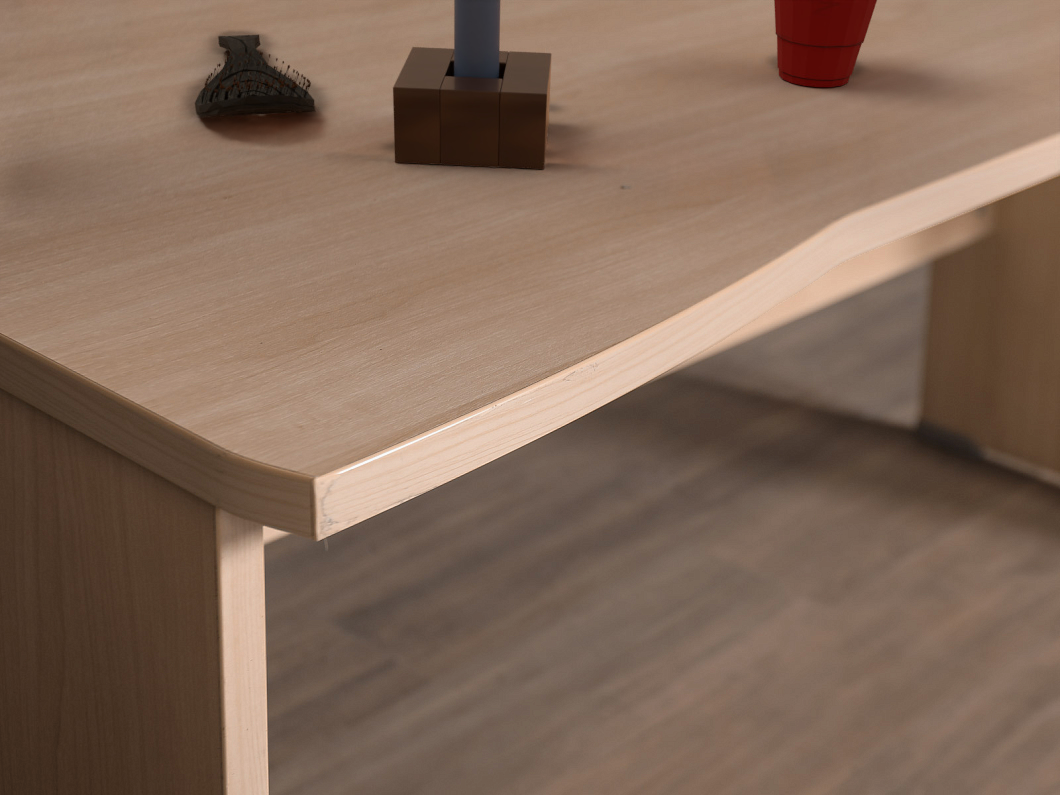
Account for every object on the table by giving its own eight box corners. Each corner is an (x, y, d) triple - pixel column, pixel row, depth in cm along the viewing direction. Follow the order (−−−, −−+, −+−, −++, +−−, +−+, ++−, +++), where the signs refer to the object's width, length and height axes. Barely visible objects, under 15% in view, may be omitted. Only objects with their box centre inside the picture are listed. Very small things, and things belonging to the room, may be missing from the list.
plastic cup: (722, 63, 104) (739, -88, 98) (835, 56, 107) (858, -90, 101) (784, 102, 95) (806, -62, 89) (905, 93, 98) (935, -66, 92)
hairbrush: (284, 9, 103) (321, 79, 82) (287, 54, 105) (325, 133, 84) (182, 13, 101) (193, 86, 80) (187, 58, 103) (200, 141, 82)
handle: (452, 147, 83) (452, -20, 78) (456, 133, 86) (456, -30, 80) (496, 149, 83) (499, -18, 78) (499, 135, 86) (502, -28, 80)
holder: (394, 162, 80) (392, 87, 78) (413, 116, 89) (412, 46, 86) (544, 169, 80) (547, 94, 78) (548, 122, 89) (551, 52, 86)
